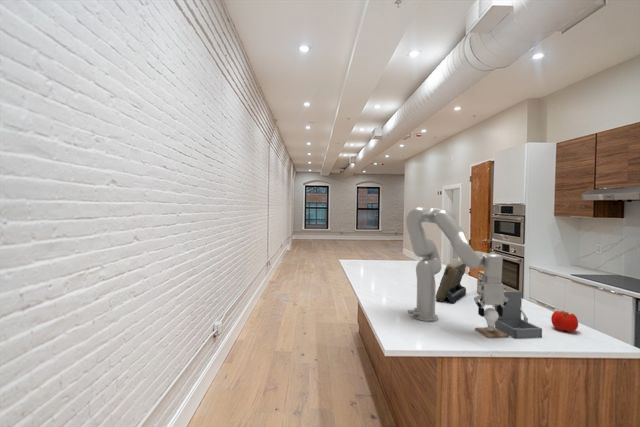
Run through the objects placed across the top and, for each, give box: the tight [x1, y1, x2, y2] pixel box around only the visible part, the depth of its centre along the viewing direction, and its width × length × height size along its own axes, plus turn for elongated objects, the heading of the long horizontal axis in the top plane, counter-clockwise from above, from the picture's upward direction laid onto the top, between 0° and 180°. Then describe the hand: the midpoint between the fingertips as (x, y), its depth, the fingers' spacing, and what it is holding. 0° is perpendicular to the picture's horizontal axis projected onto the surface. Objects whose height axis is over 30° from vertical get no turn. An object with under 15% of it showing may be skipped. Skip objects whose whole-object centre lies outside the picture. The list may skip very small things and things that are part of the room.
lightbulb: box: [483, 307, 499, 332], centre depth 149 cm, size 6×6×11 cm
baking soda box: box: [476, 270, 484, 296], centre depth 217 cm, size 10×6×16 cm
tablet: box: [435, 259, 467, 304], centre depth 209 cm, size 33×14×25 cm, turn 146°
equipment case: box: [494, 290, 543, 339], centre depth 151 cm, size 14×14×18 cm
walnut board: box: [474, 326, 509, 339], centre depth 149 cm, size 10×10×1 cm
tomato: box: [550, 310, 579, 333], centre depth 155 cm, size 11×11×9 cm
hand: (490, 315), depth 149 cm, fingers open, 9 cm apart
